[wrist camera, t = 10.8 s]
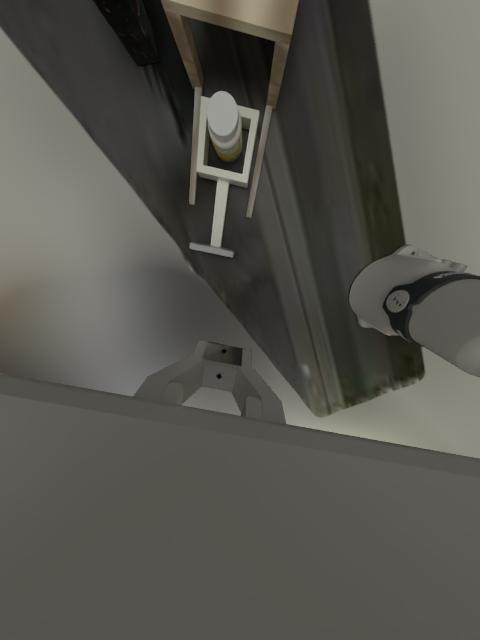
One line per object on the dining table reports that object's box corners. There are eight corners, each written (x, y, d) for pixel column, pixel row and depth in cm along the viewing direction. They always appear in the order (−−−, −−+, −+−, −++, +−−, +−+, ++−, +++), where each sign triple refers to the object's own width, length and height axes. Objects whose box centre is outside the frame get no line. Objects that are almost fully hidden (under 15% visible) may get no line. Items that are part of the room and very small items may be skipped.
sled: (258, 123, 27) (260, 100, 23) (235, 255, 36) (233, 257, 32) (205, 110, 27) (197, 84, 22) (195, 246, 36) (188, 248, 31)
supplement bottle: (220, 120, 27) (210, 76, 20) (247, 134, 28) (247, 96, 21) (211, 157, 30) (199, 129, 22) (236, 169, 30) (233, 146, 23)
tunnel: (313, -85, 20) (380, -408, 10) (253, 218, 33) (256, 210, 23) (203, -121, 19) (156, -504, 9) (187, 203, 33) (161, 189, 23)
